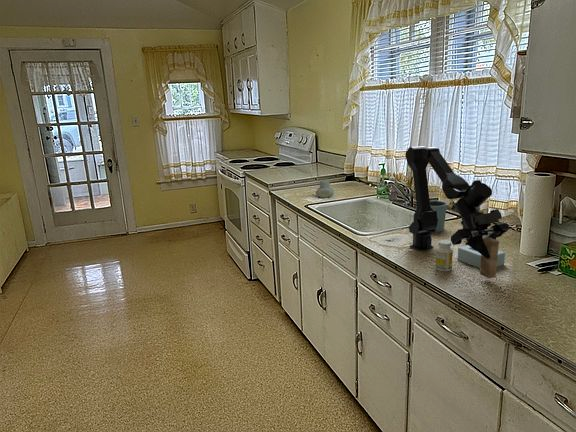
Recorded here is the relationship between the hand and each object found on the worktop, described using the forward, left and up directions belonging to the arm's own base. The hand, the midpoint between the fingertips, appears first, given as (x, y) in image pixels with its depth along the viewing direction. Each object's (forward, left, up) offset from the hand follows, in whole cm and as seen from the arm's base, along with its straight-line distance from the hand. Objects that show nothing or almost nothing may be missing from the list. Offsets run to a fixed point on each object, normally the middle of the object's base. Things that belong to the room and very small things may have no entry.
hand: (492, 257), depth 131 cm
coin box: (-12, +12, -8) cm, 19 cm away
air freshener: (-134, +33, -9) cm, 139 cm away
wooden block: (-1, 0, -7) cm, 7 cm away
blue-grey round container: (-48, +30, -9) cm, 58 cm away
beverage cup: (-33, +34, -9) cm, 49 cm away
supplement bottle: (-16, -2, -9) cm, 18 cm away
